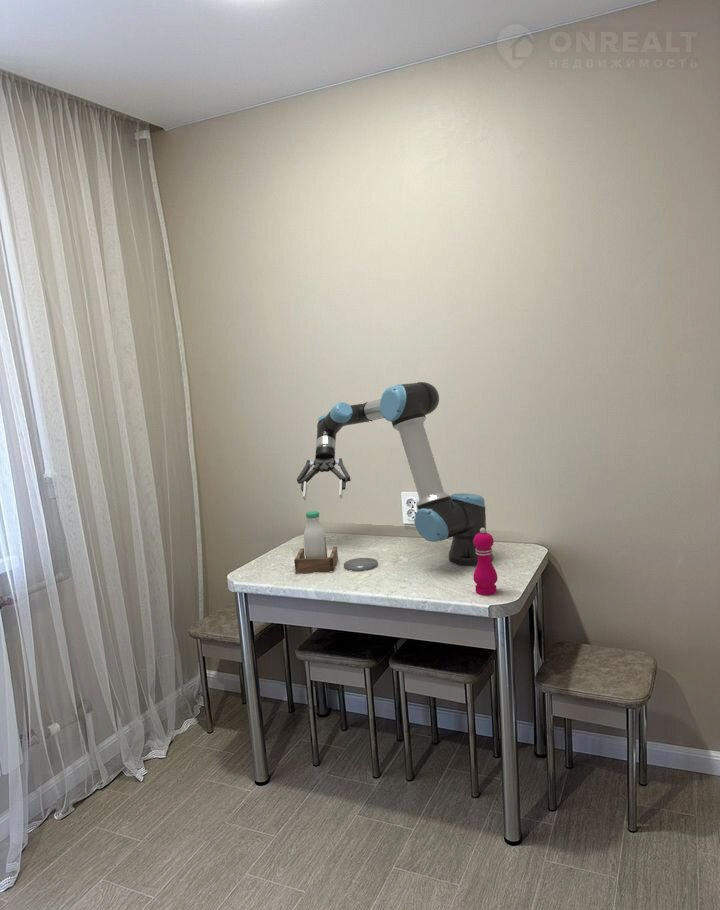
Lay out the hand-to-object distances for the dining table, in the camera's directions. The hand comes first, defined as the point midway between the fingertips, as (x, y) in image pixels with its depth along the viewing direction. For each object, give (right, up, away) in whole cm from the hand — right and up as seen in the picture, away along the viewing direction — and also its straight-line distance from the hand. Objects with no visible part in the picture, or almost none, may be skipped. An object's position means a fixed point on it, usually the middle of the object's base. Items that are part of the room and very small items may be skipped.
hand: (322, 497), depth 260 cm
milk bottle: (-1, -24, -10) cm, 26 cm away
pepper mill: (+52, -26, -47) cm, 75 cm away
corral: (-1, -24, -10) cm, 26 cm away
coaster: (+14, -23, -13) cm, 30 cm away
